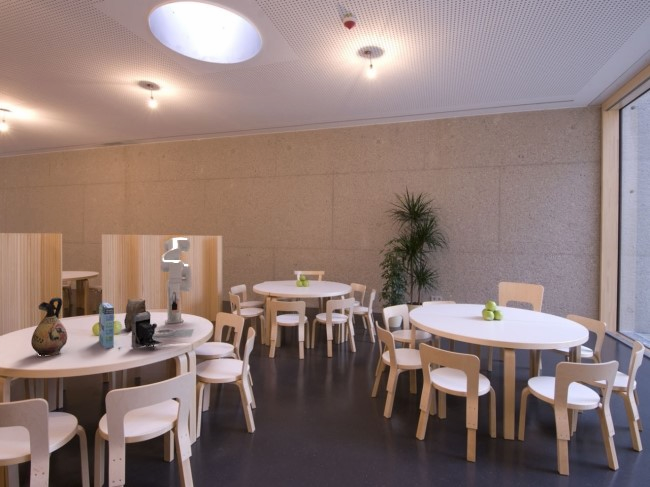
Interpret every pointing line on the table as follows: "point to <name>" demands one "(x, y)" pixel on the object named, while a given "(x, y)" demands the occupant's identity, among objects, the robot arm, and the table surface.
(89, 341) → the table surface
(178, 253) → the robot arm
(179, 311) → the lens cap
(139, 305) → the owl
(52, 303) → the ceramic jug
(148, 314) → the vintage camera
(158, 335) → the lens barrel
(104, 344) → the gum box
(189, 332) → the board
